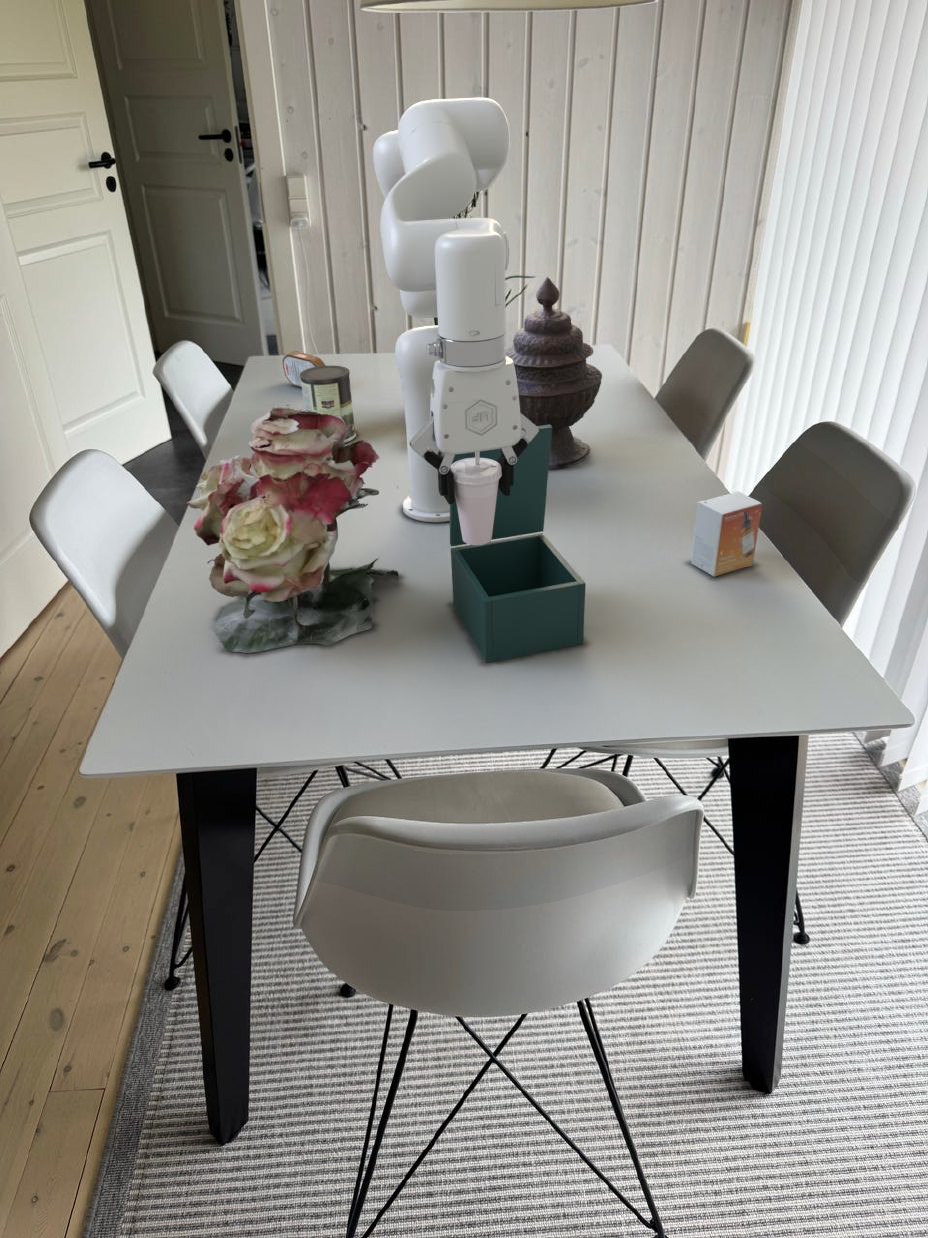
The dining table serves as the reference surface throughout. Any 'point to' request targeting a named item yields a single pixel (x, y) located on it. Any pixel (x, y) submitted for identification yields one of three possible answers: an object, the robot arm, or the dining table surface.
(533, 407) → the decorative urn
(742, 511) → the small box
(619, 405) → the dining table surface
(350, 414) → the coffee can
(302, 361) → the tin
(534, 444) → the bin lid
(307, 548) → the rose bouquet
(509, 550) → the bin
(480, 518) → the smoothie
